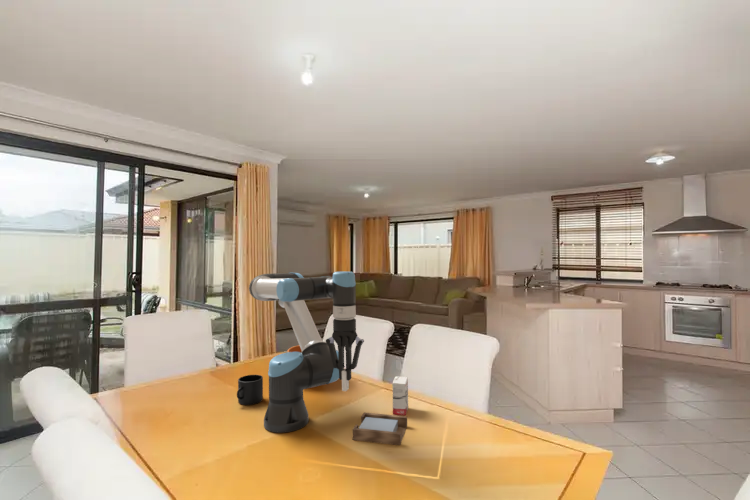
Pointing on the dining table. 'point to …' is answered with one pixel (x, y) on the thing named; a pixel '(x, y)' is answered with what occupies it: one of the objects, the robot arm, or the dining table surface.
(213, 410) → the dining table surface
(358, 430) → the box
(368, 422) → the tile
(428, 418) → the dining table surface
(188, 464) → the dining table surface
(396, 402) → the ink box
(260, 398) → the mug
